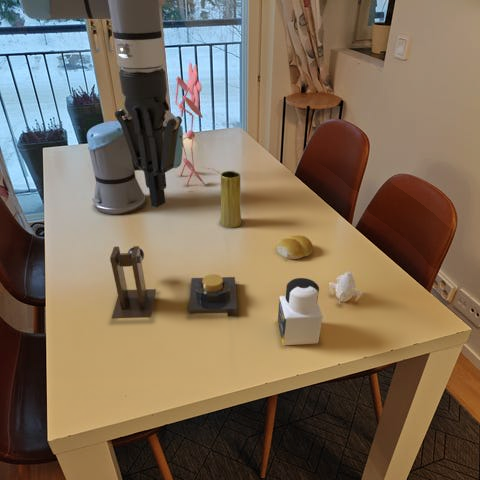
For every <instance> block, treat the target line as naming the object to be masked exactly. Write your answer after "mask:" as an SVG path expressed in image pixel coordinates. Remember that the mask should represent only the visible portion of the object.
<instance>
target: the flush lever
mask: <svg viewBox="0 0 480 480" xmlns="http://www.w3.org/2000/svg"><path fill="white" fill-rule="evenodd" d="M133 248H134V246H133V247H131V248H130V249H129V250H128V251H127V252H120V254H119V265H120V267H123V268H124V267H127V268H128V267H132V261H131V255H132V252H133ZM139 249H140V255H141V257H142V261H144V258H145V253H144V251H143V249H142V248H140V247H139Z"/></svg>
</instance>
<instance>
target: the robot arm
mask: <svg viewBox="0 0 480 480" xmlns="http://www.w3.org/2000/svg"><path fill="white" fill-rule="evenodd" d="M166 1H167V0H18V2H19V5H20V7H21V9H22V11H23V13H24V15H25V16H26V17H27V18H28V19H31V20H45V21H46V22H50V21H52V20H54V21H55V20H56V21H57V20H111V26H112V35H113V42H114V47H115V53H116V61H117V66H119V67H120V68H121V69H120V70H119V72H118V75H119V84H120V88H121V93H122V96H124V101H123V103H124V104H123V105H124V107H122V108H121V109H119V110H115V112H114V116H115V118H116V120H109V121H106V122H102V123H98V124H96V125H94V126H91V127H90V129H88V131H87V133H86V139H87V145H88V146H87V149H88V152H89V156H90V161H91V164H92V170H93V173H94V179H95V187H94V195H93V198H92V202H93V204H94V208H95V210H96V211H98V212H100V213H102V214H106V215H126V214H130V213H134V212H136V211H138V210H140V209H141V208H143V207H144V206H145V204H146V197H145V194H144V192H143V190H142V187H141V186H140V184H139V182H138V180H137V178H136V172H135V171H142V172H143V174H144V175H143V176H144V182H145V186H146V188H148V191H149V199H150V206H151V207H154V208H159V207H161V206H162V205H164V204H166V195H165V189H167V179H166V178H167V177H166V173H167V172H170V171H171V170H173V169H178V168H179V167H180V166H181V165H182V160H183V152H184V149H183V145H184V139H183V138H184V130H183V126H182V125H181V124H182V123H183V119H182V117H181V115H178V116H176V115H174V114H173V113H172V111H171V99H170V88H169V78H168V68H167V67H168V66H167V56H166V44H165V36H164V35H165V34H164V23H163V22H164V21H163V11H162V7H163V5H164V4H165V2H166Z"/></svg>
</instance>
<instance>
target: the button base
mask: <svg viewBox="0 0 480 480" xmlns="http://www.w3.org/2000/svg"><path fill="white" fill-rule="evenodd" d="M221 277H222V279H223V288H222V289H221V290H219V291H217V292H208V291H205V290H204V289H203V283H202V280H203V278H204V277H191V279H190V291H189V293H190V294H189V307H188V308H189V309H188V312H189V314H218V313H219V314H221V313H222V314H224V313H227V317H238V304H237V303H238V302H237V288H236V277H235V276H227V277H226V276H221Z"/></svg>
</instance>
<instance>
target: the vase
mask: <svg viewBox="0 0 480 480" xmlns="http://www.w3.org/2000/svg"><path fill="white" fill-rule="evenodd" d="M220 225H222V227H225V228H230V229H232V228H238V227H239V226H241V225H242V210H241V173H240V172H238V171H236V170H226V171H223V172H220Z"/></svg>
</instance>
